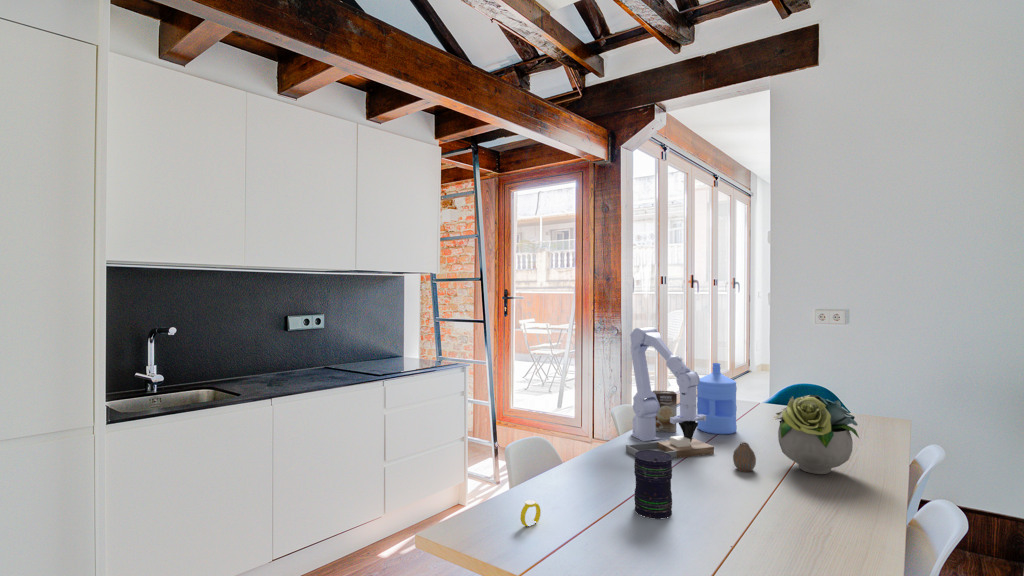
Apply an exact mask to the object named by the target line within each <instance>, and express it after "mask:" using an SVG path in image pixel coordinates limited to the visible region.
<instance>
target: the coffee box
mask: <svg viewBox="0 0 1024 576" xmlns="http://www.w3.org/2000/svg"><path fill="white" fill-rule="evenodd" d="M652 392H653V393H655V394H656V398H657V400H658V402H659V405H660V409H659V411H658V412H657V415H656V432H660V431H666V432H665V433H676V432H677V423H675V424H672V423H670V417H675V416H678V415H677V406H678V405H677V404H678V401H677V400H678V398H677V397H678V394H677V393H676V392H675V391H674V390H652Z"/></svg>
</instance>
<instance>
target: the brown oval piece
mask: <svg viewBox="0 0 1024 576" xmlns="http://www.w3.org/2000/svg"><path fill="white" fill-rule="evenodd" d="M732 461H733V465H734V467H735V468H736V469H737V470H738V471H740V472H744V473H745V472H746V473H747V472H751V471H753V470H754V468H755V467H756V463H757V457H756V453H755V451H754V450H753V449H752V448H751V446H750V445H749V443H748V442H744V441H743V442H740V443H739V445H738V446H737V447H736V448H735V449H734V451H733V454H732Z"/></svg>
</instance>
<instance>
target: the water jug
mask: <svg viewBox="0 0 1024 576" xmlns="http://www.w3.org/2000/svg"><path fill="white" fill-rule="evenodd" d="M711 364H712V372H711V373H708V374H706V375H704V376H702V377H699V378H700V382H699V384H698V385H697V386H696V415H700V414H703V415H706V421H703V420H702V421H696V422H697V423H698V426H697V428H696V429H698V430H699V431H701V432H703V433H708V434H713V435H732V434H735V433H736V432H737V389H738V388H737V381H735V380H734V379H732V378H730V377H729V376H726V375H724V374H722V372H721V363H719V362H717V363H716V362H712V363H711Z"/></svg>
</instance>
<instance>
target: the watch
mask: <svg viewBox="0 0 1024 576" xmlns="http://www.w3.org/2000/svg"><path fill="white" fill-rule="evenodd" d="M533 507H535V516H534V518H533V520H534V521H536V522H537V523H539V521H540V518H541V514H542V513H541V511H542V510H541V507H540V505H539V503H537V501H536V500H533V499H527V500H525V502H524V505H523V507H522V509H521V512H520V522H521V525H522V526H524V525H525V526H524V527H526V526H528V525H527V524H528V523H527V522H526V513H527V511H528V509H529V508H533Z"/></svg>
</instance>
